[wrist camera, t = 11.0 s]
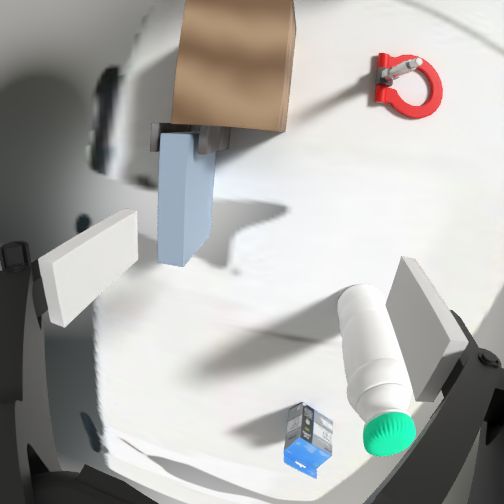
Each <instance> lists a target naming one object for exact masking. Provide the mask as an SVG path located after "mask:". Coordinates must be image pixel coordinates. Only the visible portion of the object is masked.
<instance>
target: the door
mask: <svg viewBox="0 0 504 504" xmlns="http://www.w3.org/2000/svg"><path fill="white" fill-rule="evenodd" d="M198 145H199V132H197V131H194V132H173V133H161V138H160V157H159V182H158V263H163V264H168V265H174V266H180V267H184V266H185V264H186V263H187V262H188V261H189V260H190V258H191V257H192V256H193V255H194V254H195V253H196V251H197V250H198V249H199V248H200V246H201V245H202V244H203V243H204V242H205V241H206V240H207V238H208V237H209V236H210V234H211V218H212V203H213V187H214V173H215V160H216V152H214V153H211V154H207V155H201V154H198Z"/></svg>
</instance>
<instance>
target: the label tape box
mask: <svg viewBox="0 0 504 504" xmlns="http://www.w3.org/2000/svg"><path fill="white" fill-rule="evenodd" d="M332 433H333V422H332V421H331V420H329V419H328V418H326V417H324V416H323V415H321V414H320V413H318V412H317V411H315V410H314V409H312V408H311V407H309V406H308V405H306V404H305V403H303V402H302V403H300V404H299V405H297V406H295V407H293V408H292V409H290V410H289V417H288V425H287V433H286V440H285V446H284V463H286V464H287V465H289V466H291V467H293V468H295V469H297V470H299V471H301V472H303V473H305V474H307V475H309V476H311V477H313V478H315V479H317V471H316V469H317V468H318V467H319V466H320V465H321V464H323V463H324V462H325V461H326V460H327V459H328V458H330V457H331V456H332ZM295 461H297V462H299V463H301V464H302V465H304V466H306V468H303V467H300V466H299V465H298V464H296V463H295Z"/></svg>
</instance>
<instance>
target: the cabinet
mask: <svg viewBox="0 0 504 504" xmlns="http://www.w3.org/2000/svg"><path fill="white" fill-rule="evenodd" d="M295 36H296V21H295V12H294V2H293V0H186V4H185V10H184V16H183V22H182V29H181V36H180V44H179V51H178V59H177V68H176V77H175V86H174V96H173V107H172V119H171V123H152V128H151V145H150V151H153V152H158V151H160V138H161V133H173V132H190V129H191V124H193V125H200V132H199V145H198V154H201V155H207V154H211V153H214V152H218V151H222V150H226V149H228V146H229V136H230V127H238V128H249V129H259V130H269V131H277V132H285V130H286V121H287V112H288V103H289V94H290V84H291V75H292V65H293V56H294V46H295Z"/></svg>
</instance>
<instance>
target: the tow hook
mask: <svg viewBox="0 0 504 504" xmlns="http://www.w3.org/2000/svg"><path fill="white" fill-rule="evenodd" d="M416 68H417V69H419V70H421V71H422V72H423V73H424V74H425V75H426V76H427V78H428V80H429V82H430V86H431V95H430V98H429V100H428V101H427V102H426V103H425V104H424V105H421V106H411V105H409V104H407V103H406V102H404V101H403V100H402V99H401V98H400V96H399V95H398V93H397V91H396V90H395V89H392V88H387V87H389V86H392V83H393V80H395V79H398V78H399V76H401V75H404V74H406V73H409V72H411V71H414V70H415V69H416ZM442 93H443V89H442V84H441V80H440V78H439V76H438V73H437V72H436V71H435V69H434V68H433V67H432V66H431V65H430V64H429V63H428V62H427V61H425V60H424V59H422V58H420V57H417V56H413V55H402V56H399V57H396V58H394V57H390V56H389V55H388V54H385V53H379V57H378V69H377V74H376V94H375V102H377V103H381V104H386V103H389V104H391V105H392V106H393V107H394V108H395V109H396V110H397V111H398V112H400V113H401V114H403V115H405V116H408V117H413V118H423V117H426V116H429V115H431V114H432V113H434V112H435V111H436V110H437V108H438V107H439V105H440V103H441V100H442Z"/></svg>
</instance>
